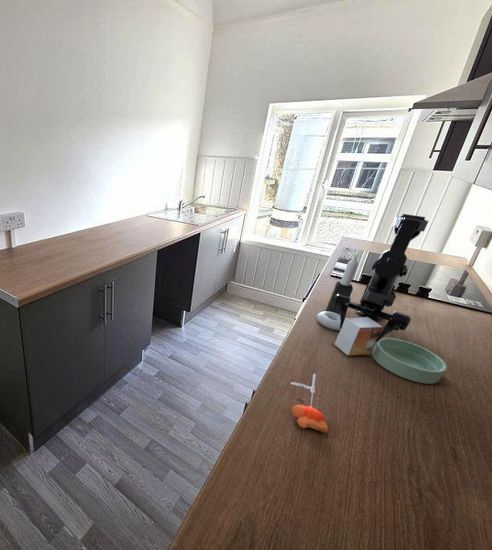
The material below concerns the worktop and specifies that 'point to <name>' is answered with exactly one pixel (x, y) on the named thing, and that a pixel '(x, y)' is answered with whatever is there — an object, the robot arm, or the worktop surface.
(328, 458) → the worktop surface
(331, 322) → the donut
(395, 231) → the robot arm
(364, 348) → the small box
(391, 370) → the bowl
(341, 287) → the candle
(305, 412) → the orange lobed stemmed ornament
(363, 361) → the worktop surface
